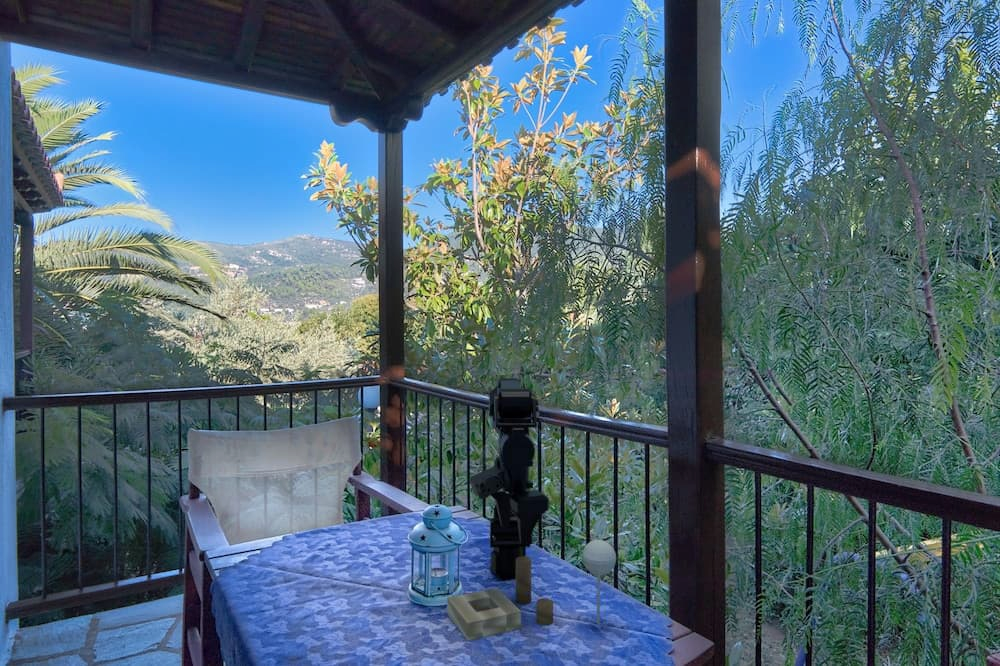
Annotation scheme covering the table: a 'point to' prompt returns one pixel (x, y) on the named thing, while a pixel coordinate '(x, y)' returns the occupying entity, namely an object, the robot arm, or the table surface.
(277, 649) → the table surface
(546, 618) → the short pin
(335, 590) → the table surface
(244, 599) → the table surface
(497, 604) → the bored block
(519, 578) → the long pin
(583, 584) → the table surface
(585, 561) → the lollipop
